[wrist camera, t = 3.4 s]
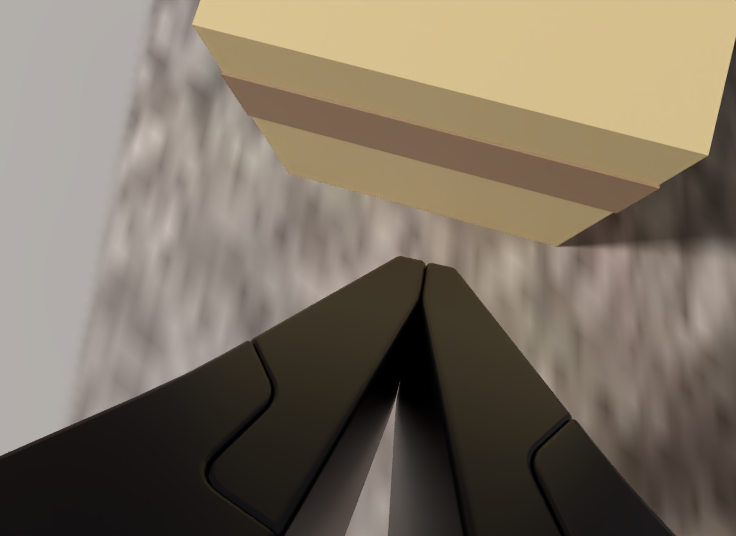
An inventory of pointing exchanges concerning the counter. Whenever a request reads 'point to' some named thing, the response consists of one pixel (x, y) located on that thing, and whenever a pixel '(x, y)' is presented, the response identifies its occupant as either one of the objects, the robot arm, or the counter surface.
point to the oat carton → (481, 99)
